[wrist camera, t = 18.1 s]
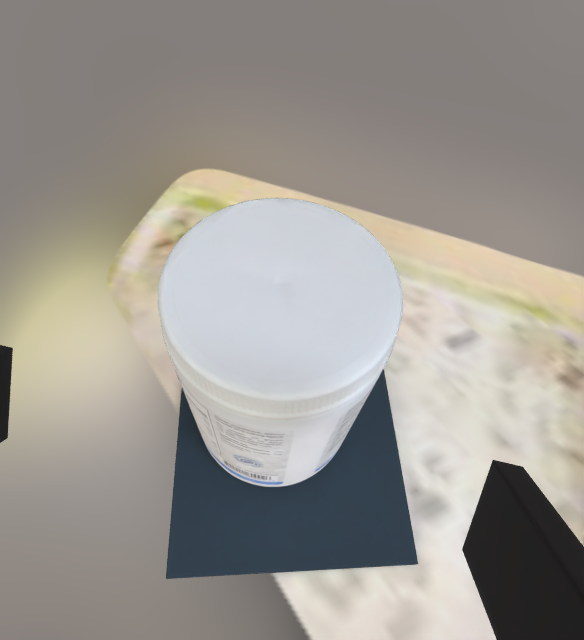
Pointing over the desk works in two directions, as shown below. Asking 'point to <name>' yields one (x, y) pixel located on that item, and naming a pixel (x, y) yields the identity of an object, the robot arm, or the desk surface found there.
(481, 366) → the desk surface
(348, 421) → the supplement tub
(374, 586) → the desk surface
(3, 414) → the robot arm
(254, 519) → the mat
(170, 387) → the desk surface
